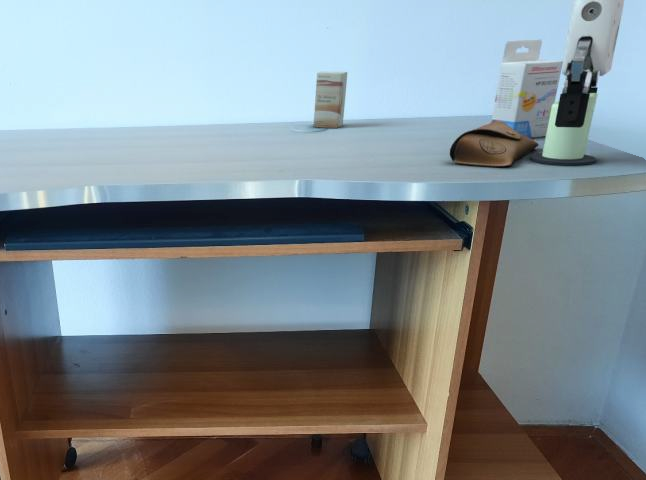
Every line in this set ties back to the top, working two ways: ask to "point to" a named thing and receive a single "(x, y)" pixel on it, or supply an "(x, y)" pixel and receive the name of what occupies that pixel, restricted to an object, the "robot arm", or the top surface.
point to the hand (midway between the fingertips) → (573, 122)
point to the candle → (568, 135)
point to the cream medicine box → (330, 99)
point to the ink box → (526, 89)
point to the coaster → (583, 161)
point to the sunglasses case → (491, 146)
